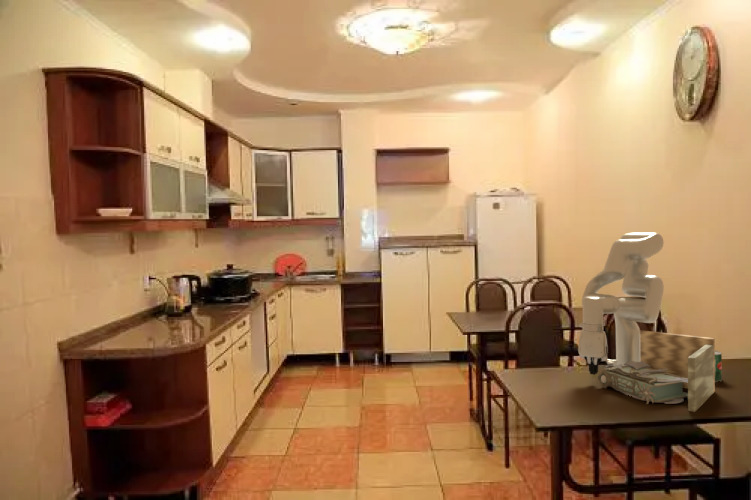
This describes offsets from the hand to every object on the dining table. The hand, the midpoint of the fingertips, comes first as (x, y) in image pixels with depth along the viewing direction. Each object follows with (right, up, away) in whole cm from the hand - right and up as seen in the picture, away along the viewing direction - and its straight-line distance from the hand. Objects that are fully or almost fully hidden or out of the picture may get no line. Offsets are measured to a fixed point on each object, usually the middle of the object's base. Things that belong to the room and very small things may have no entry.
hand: (593, 373), depth 205 cm
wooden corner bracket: (+21, -4, -14) cm, 26 cm away
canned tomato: (+48, -3, +2) cm, 48 cm away
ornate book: (+15, -5, -12) cm, 20 cm away
